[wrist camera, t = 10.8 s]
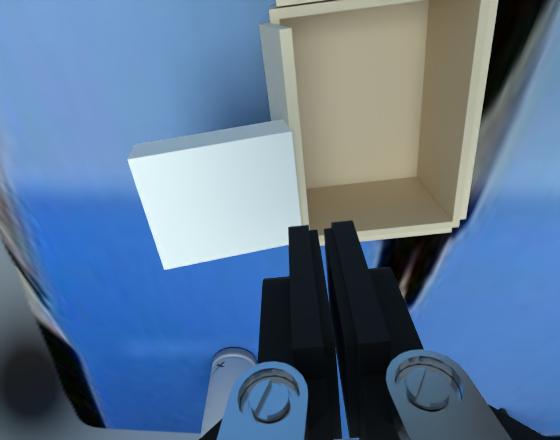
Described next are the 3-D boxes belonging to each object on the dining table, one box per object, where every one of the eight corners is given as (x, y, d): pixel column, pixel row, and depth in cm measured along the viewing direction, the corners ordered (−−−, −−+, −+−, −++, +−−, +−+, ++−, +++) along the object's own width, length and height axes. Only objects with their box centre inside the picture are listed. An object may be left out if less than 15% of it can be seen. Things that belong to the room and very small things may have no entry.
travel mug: (210, 345, 54) (179, 510, 37) (257, 347, 54) (249, 511, 37) (211, 375, 57) (184, 540, 40) (255, 376, 57) (248, 540, 40)
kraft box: (442, -26, 32) (504, -33, 23) (425, 184, 42) (464, 232, 33) (269, -2, 33) (267, -2, 24) (291, 198, 42) (296, 250, 34)
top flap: (294, 28, 18) (93, 57, 17) (317, 298, 26) (183, 327, 25) (268, 22, 24) (122, 43, 24) (293, 239, 33) (186, 261, 32)
